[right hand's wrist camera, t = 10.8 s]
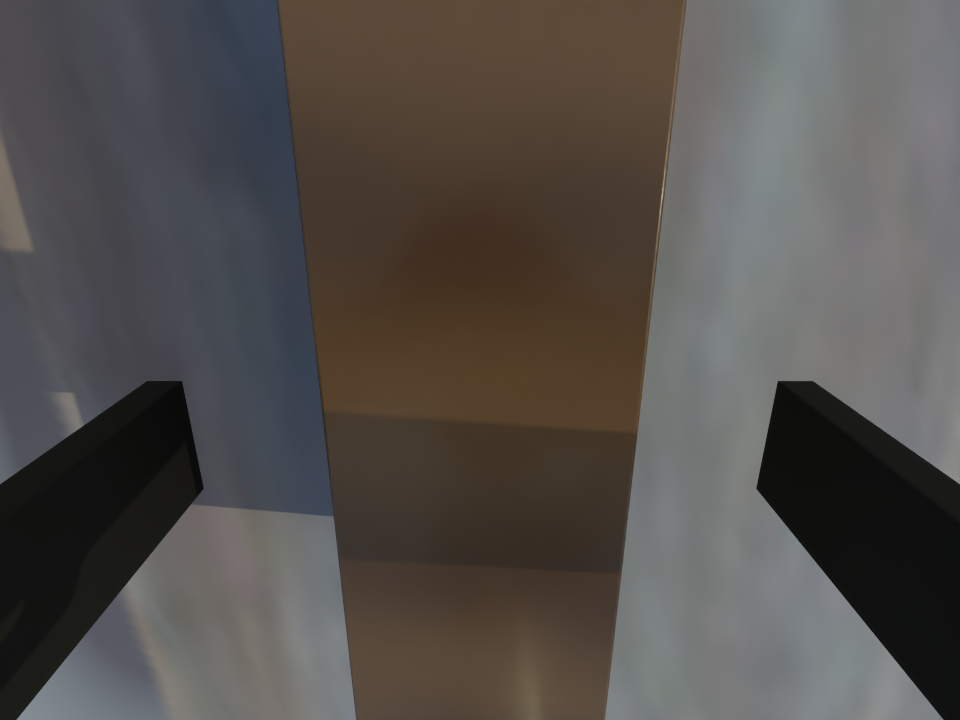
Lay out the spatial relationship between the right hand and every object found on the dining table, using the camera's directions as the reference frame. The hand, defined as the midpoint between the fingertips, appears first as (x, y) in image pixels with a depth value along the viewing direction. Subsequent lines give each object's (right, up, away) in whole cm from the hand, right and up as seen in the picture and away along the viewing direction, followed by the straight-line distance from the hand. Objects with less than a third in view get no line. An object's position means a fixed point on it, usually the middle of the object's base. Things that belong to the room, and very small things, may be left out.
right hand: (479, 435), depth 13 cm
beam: (0, +27, -6) cm, 28 cm away
